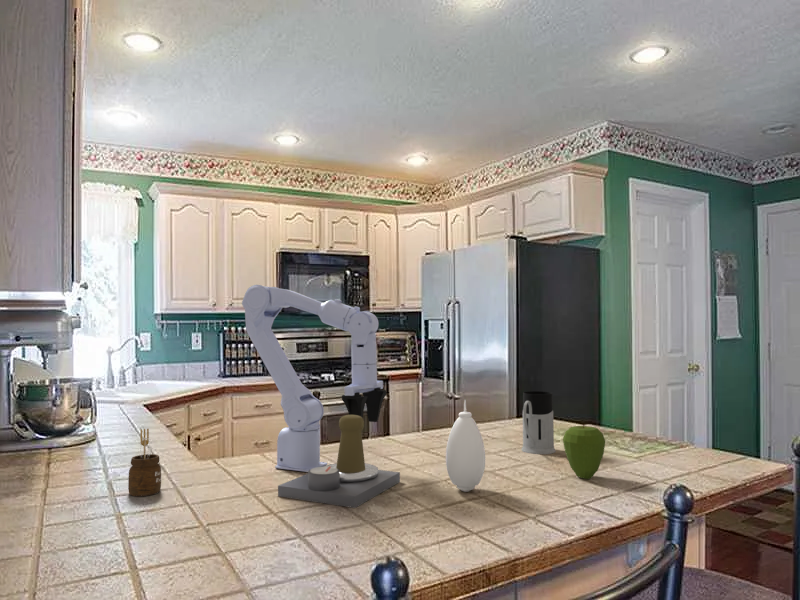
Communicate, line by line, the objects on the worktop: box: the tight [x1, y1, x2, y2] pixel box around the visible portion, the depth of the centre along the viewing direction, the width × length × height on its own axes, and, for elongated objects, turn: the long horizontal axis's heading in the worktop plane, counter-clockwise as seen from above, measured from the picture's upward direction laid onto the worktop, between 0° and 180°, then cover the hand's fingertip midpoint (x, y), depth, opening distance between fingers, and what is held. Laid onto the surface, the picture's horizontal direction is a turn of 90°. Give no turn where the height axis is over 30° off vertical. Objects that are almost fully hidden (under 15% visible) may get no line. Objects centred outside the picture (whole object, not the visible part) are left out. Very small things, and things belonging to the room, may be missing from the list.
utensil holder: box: [127, 428, 162, 497], centre depth 115 cm, size 6×6×12 cm
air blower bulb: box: [445, 399, 486, 493], centre depth 116 cm, size 8×8×18 cm
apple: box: [562, 424, 606, 480], centre depth 125 cm, size 9×8×12 cm
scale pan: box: [323, 462, 379, 482], centre depth 120 cm, size 12×12×1 cm
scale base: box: [277, 463, 401, 509], centre depth 117 cm, size 17×19×5 cm
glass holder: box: [520, 390, 556, 455], centre depth 150 cm, size 9×14×15 cm, turn 148°
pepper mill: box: [336, 414, 366, 473], centre depth 120 cm, size 6×6×11 cm
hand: (365, 424), depth 132 cm, fingers open, 7 cm apart
